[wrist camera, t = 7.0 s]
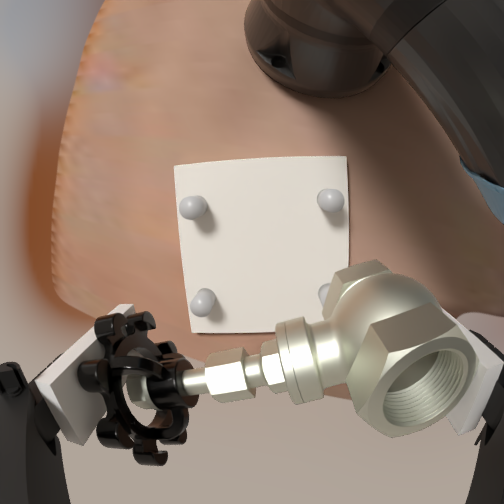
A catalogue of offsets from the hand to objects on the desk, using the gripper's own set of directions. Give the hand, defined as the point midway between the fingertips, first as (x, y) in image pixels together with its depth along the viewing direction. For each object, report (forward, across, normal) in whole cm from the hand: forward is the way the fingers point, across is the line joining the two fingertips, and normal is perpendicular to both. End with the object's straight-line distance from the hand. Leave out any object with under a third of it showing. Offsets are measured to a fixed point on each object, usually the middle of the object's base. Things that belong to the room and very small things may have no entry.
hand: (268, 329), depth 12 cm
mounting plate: (+16, 0, 0) cm, 16 cm away
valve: (+1, 0, 0) cm, 1 cm away
